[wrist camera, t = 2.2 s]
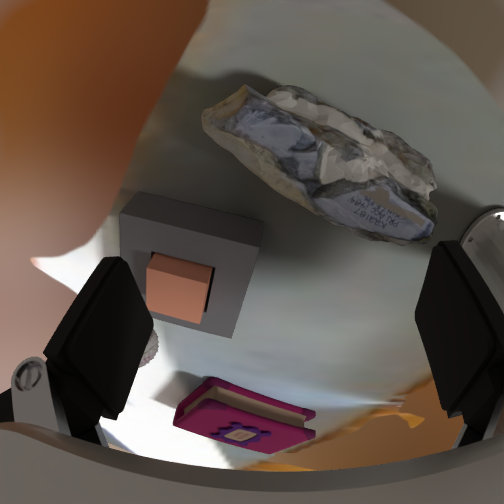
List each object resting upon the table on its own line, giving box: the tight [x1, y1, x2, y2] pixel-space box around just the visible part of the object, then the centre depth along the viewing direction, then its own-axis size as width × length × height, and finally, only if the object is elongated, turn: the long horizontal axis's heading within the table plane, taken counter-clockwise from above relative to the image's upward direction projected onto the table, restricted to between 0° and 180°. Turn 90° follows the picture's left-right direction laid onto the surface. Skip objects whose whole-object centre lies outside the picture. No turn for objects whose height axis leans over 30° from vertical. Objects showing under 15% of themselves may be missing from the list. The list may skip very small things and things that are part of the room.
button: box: [146, 252, 213, 324], centre depth 36 cm, size 7×7×3 cm
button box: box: [119, 192, 263, 338], centre depth 39 cm, size 16×16×6 cm
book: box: [173, 377, 316, 454], centre depth 65 cm, size 21×28×8 cm
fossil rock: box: [201, 84, 438, 246], centre depth 26 cm, size 21×10×15 cm, turn 62°
